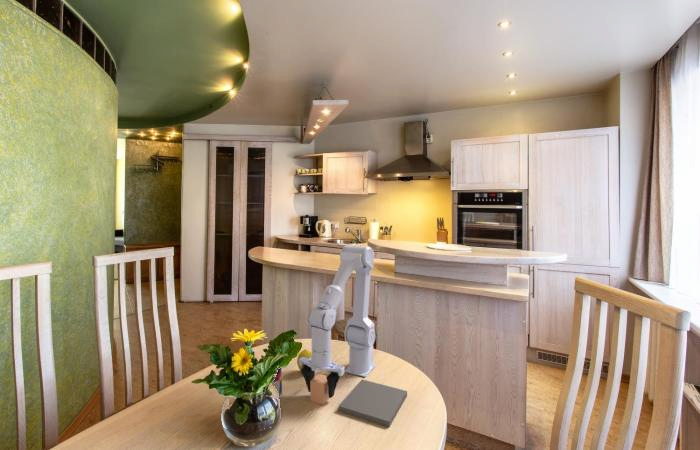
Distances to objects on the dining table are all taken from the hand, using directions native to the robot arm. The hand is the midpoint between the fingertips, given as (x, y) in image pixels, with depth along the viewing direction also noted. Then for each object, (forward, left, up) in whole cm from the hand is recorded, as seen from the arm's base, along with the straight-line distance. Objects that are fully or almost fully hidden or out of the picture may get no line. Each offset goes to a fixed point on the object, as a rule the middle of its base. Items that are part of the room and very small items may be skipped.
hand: (321, 393), depth 98 cm
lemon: (-11, -13, -2) cm, 17 cm away
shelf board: (-5, +15, -2) cm, 16 cm away
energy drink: (+5, -14, -2) cm, 15 cm away
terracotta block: (0, 0, -2) cm, 2 cm away
